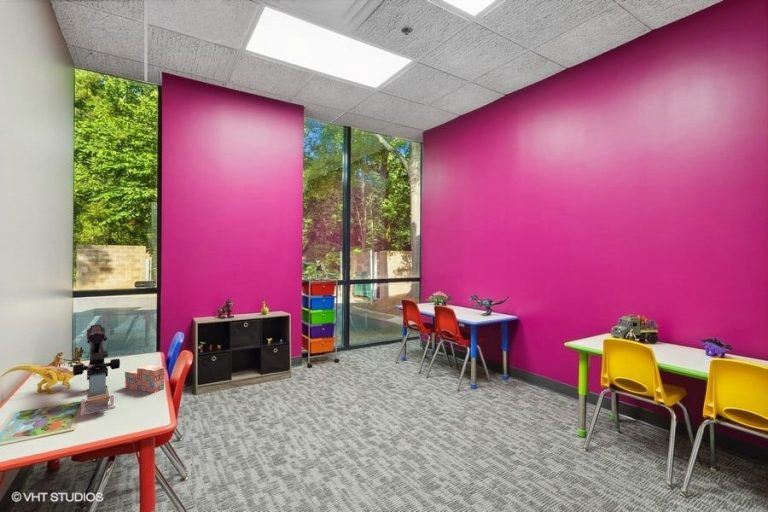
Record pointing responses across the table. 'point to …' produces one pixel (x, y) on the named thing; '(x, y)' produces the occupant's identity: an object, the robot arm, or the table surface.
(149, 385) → the stack of blocks
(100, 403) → the beam
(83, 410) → the pivot stand
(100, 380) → the grey rectangular block
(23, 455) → the table surface
